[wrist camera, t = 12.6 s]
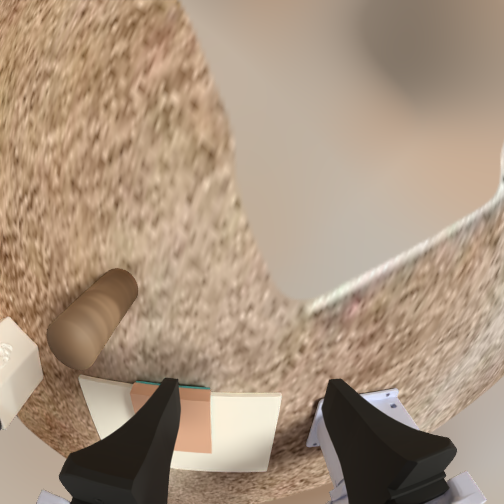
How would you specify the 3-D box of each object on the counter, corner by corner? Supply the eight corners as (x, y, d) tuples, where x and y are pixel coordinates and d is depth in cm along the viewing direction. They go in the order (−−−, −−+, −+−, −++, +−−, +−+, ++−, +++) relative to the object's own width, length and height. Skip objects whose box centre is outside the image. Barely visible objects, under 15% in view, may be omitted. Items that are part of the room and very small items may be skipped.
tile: (210, 401, 22) (211, 453, 23) (210, 386, 23) (212, 439, 25) (129, 393, 21) (144, 446, 23) (135, 379, 23) (147, 433, 25)
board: (280, 392, 25) (281, 396, 24) (266, 467, 28) (266, 471, 28) (80, 374, 23) (78, 377, 23) (110, 453, 27) (109, 456, 26)
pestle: (136, 269, 21) (88, 324, 12) (139, 307, 22) (100, 374, 13) (100, 267, 21) (41, 316, 12) (104, 304, 22) (54, 364, 13)
